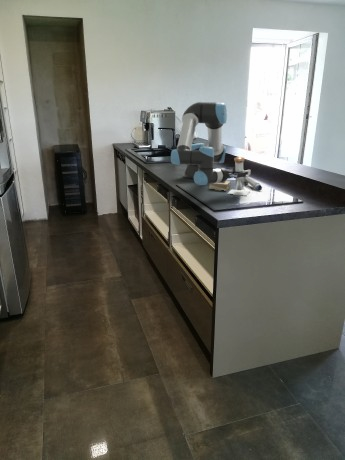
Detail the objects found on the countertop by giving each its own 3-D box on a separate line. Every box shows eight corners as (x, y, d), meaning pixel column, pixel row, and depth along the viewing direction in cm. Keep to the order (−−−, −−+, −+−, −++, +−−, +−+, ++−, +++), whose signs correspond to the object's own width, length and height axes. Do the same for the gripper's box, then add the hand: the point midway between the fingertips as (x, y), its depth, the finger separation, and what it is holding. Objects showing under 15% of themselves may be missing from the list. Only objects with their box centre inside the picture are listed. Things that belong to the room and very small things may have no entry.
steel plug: (235, 187, 205) (235, 157, 198) (245, 187, 203) (244, 157, 197) (234, 190, 200) (233, 159, 194) (243, 190, 199) (243, 159, 192)
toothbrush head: (255, 185, 208) (240, 172, 229) (253, 195, 211) (239, 181, 232) (263, 184, 208) (248, 171, 230) (261, 195, 212) (246, 181, 233)
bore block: (213, 186, 220) (214, 179, 219) (230, 187, 217) (230, 181, 215) (209, 189, 211) (209, 182, 210) (226, 191, 207) (227, 184, 206)
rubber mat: (231, 190, 209) (231, 189, 209) (249, 192, 206) (249, 191, 206) (227, 194, 200) (227, 193, 200) (246, 196, 196) (246, 195, 196)
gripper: (206, 179, 196) (234, 175, 210) (230, 185, 183) (257, 180, 197) (207, 166, 193) (235, 163, 207) (231, 170, 180) (259, 167, 194)
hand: (246, 171), depth 202 cm, fingers closed on steel plug, 4 cm apart
